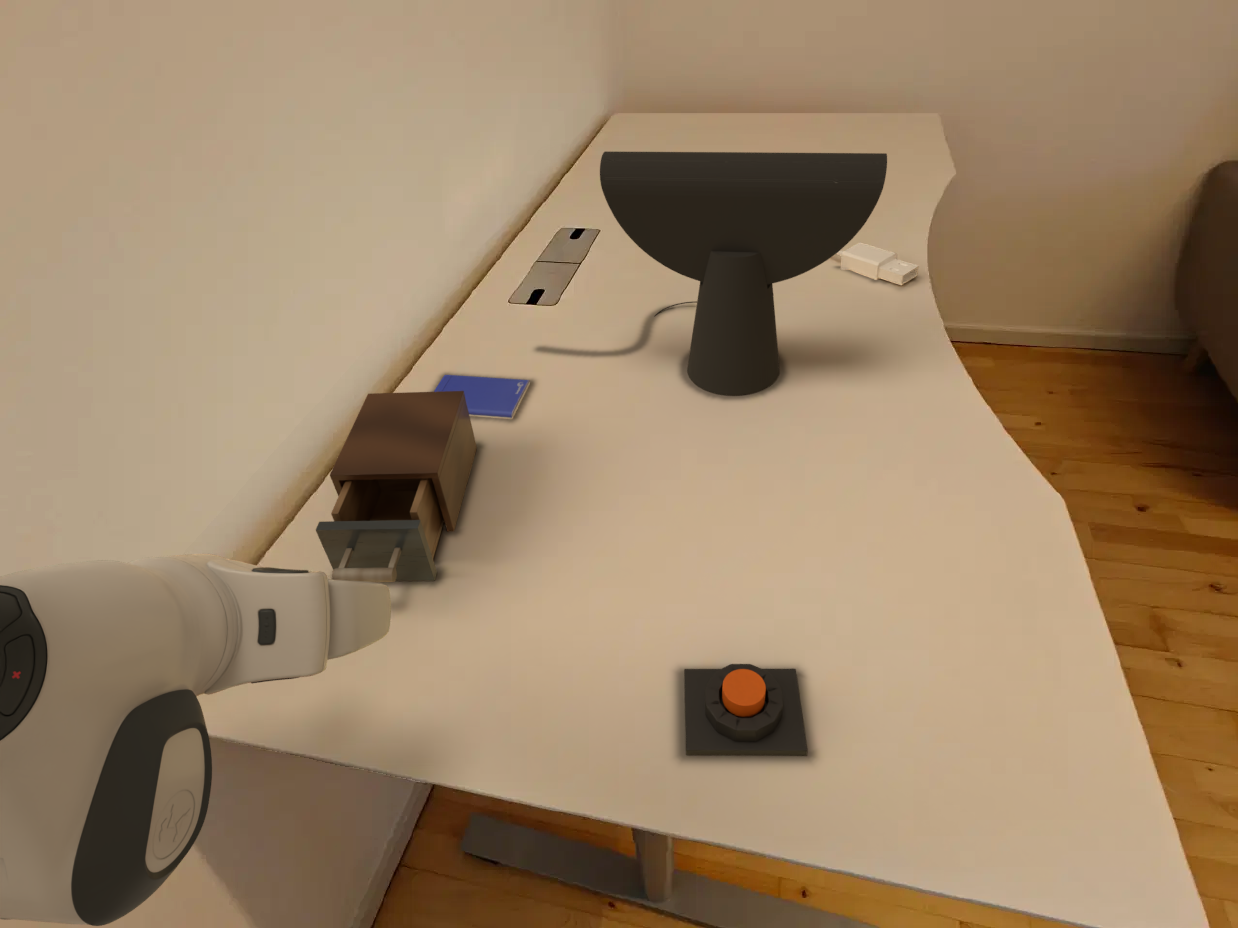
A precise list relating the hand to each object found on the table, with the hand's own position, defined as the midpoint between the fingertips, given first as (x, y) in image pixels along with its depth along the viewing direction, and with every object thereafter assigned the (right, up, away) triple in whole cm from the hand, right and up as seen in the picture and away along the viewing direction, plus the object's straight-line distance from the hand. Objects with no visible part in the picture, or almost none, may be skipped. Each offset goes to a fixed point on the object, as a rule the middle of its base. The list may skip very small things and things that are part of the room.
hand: (292, 602), depth 64 cm
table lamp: (+36, +25, +49) cm, 66 cm away
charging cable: (+61, +45, +70) cm, 103 cm away
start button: (+37, -9, +5) cm, 38 cm away
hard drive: (+7, +19, +46) cm, 50 cm away
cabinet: (+2, +8, +32) cm, 33 cm away
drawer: (+2, +2, +24) cm, 24 cm away
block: (+37, -11, +7) cm, 39 cm away
